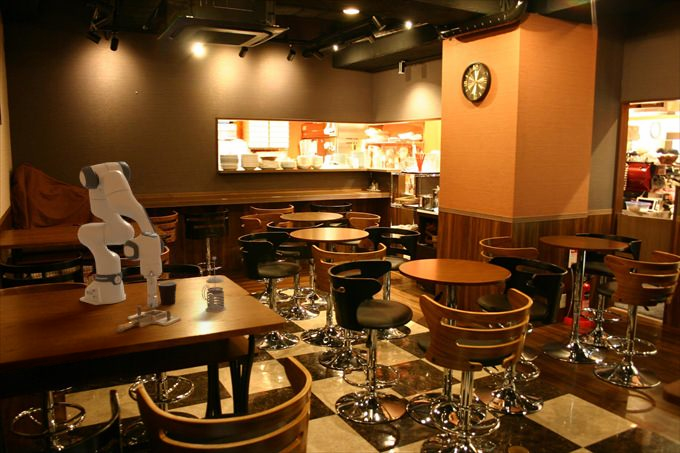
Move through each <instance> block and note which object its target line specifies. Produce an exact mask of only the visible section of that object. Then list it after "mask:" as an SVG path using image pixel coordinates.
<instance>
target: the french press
mask: <svg viewBox="0 0 680 453" xmlns="http://www.w3.org/2000/svg"><path fill="white" fill-rule="evenodd" d="M212 260H213V270H214V276H211V277H210V278H208V279H206V280H205V281H206V282H205V283H207V284H206V285H203V287H202V290H201V295H202V298H203V299H204V300H205V301H206V302H207V304H206V306H207V307H206V308H205V311H206V312H208V313H218V312H219V313H220V312H224V311H226V310H227V307H226V306H225V293H224V292H225V291H224V287H218V286H214V287H210V285H208V284H221V283H223V282H224V280H225V279H223V278H221V277H218V276H216V269H215V268H216V267H215V266H216V265H215V264H216V263H215V260H217V257H216V256H212ZM206 289H207V292H206ZM205 292H206V296H205Z"/></svg>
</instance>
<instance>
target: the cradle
mask: <svg viewBox="0 0 680 453" xmlns="http://www.w3.org/2000/svg"><path fill="white" fill-rule="evenodd" d="M136 310H137V313H136V314H133V315H130V316H128V317H127V320H130V322H131V321H134V320H138V321H139V324H138V327H139V328H143V327H146V326H148V325H151V324H154V325H158V326H159V325H160V326H164V327H165V326H169V325H171V324H174V323H177V322H179V321H182V320H181V319H182V318H181V317H177V316H172V315H171V310H166V311H165V310H158V309H152V310H149V311H142V306H141V305H137V307H136Z"/></svg>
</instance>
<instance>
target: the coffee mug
mask: <svg viewBox="0 0 680 453" xmlns="http://www.w3.org/2000/svg"><path fill="white" fill-rule="evenodd" d="M157 285H158V287H157V288H158V293H159V297H160V303H161V304H160V305H161V306H165V307H166V306H167V307H168V306H172V305H173V306H174V305H176V297H177V296H176V295H177V286H178V285H177V282H176V281H162V282H159V283H158V284H157Z"/></svg>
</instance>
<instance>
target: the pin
mask: <svg viewBox="0 0 680 453" xmlns="http://www.w3.org/2000/svg"><path fill="white" fill-rule="evenodd" d="M136 326H139V321H138V320H134V321H131V320H130V321H128V322H125V323H124V324H122V323H121V324H118V325H117V331H118V332H119V333H123V332H125V331H126V330H128V329H132V328H134V327H136Z"/></svg>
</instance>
